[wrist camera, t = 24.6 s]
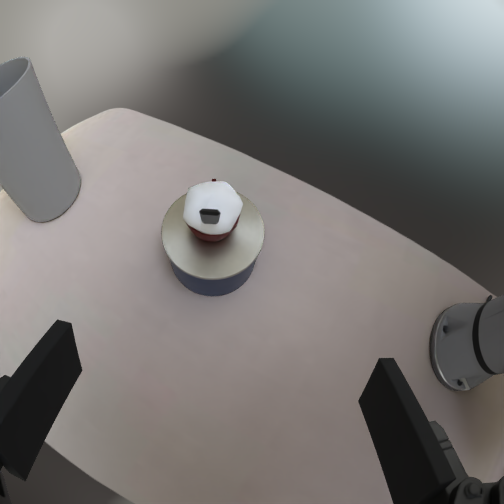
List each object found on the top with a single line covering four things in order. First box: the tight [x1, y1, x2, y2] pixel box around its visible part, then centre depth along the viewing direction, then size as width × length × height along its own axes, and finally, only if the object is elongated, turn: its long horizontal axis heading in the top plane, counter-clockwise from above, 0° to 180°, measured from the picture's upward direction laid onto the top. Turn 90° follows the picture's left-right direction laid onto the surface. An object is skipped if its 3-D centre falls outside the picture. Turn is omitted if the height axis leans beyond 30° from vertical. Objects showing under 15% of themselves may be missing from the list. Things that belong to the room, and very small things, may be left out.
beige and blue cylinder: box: [161, 191, 264, 296], centre depth 40 cm, size 12×12×8 cm
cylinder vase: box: [0, 57, 81, 222], centre depth 33 cm, size 12×12×25 cm
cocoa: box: [183, 179, 243, 242], centre depth 31 cm, size 10×6×12 cm, turn 158°
